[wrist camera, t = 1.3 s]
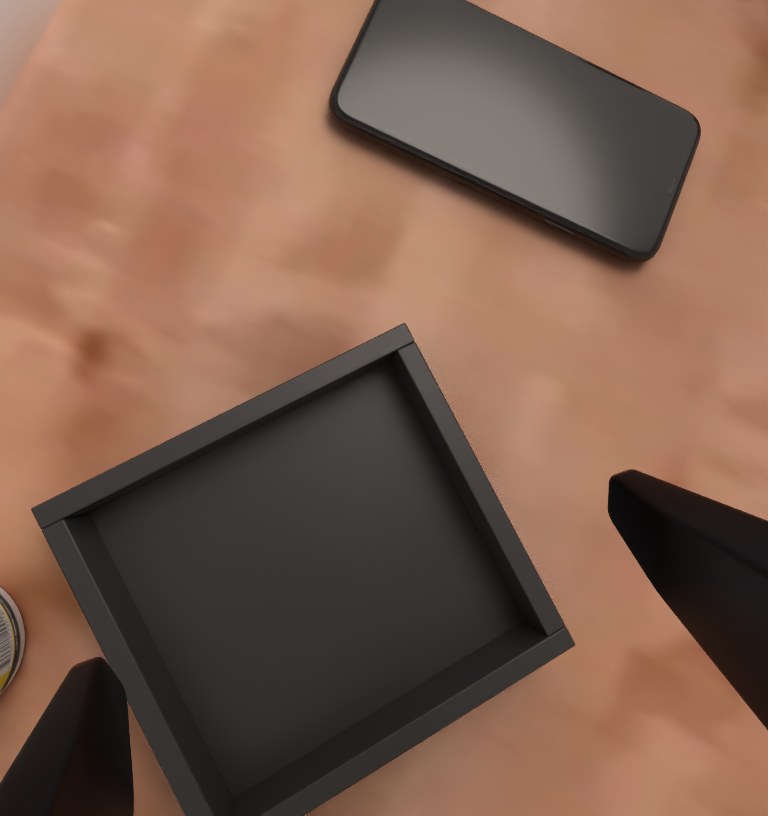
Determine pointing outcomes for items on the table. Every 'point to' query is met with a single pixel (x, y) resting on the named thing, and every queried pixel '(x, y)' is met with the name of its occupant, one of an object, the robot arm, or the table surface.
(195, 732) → the black tray
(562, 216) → the smartphone
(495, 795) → the table surface
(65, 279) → the table surface
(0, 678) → the supplement bottle
